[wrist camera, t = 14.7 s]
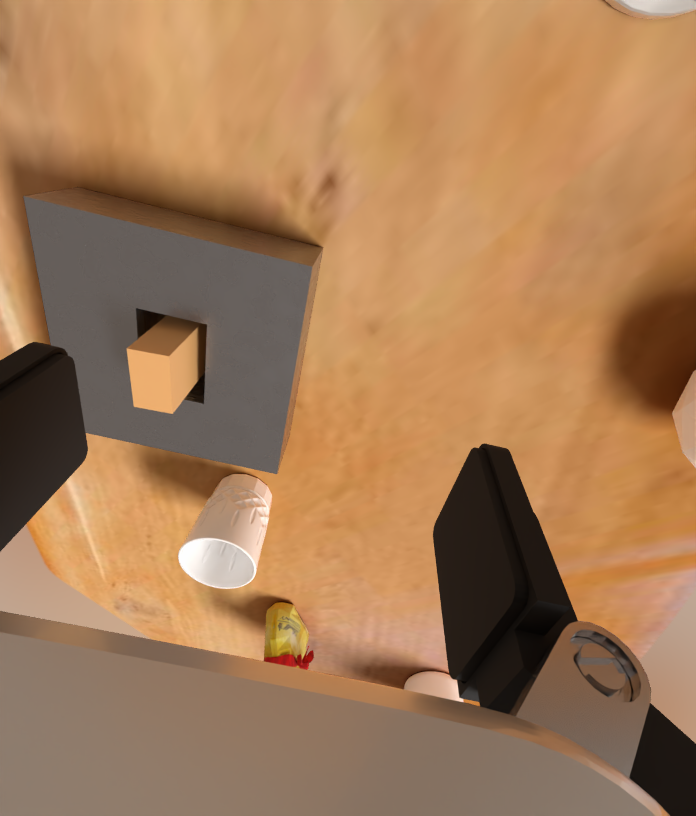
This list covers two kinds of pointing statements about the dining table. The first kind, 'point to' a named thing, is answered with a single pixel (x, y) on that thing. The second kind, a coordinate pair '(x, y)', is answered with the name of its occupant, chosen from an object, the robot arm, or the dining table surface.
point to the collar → (183, 298)
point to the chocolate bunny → (286, 637)
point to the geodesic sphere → (687, 419)
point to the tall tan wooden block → (167, 363)
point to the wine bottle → (434, 685)
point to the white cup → (228, 533)
